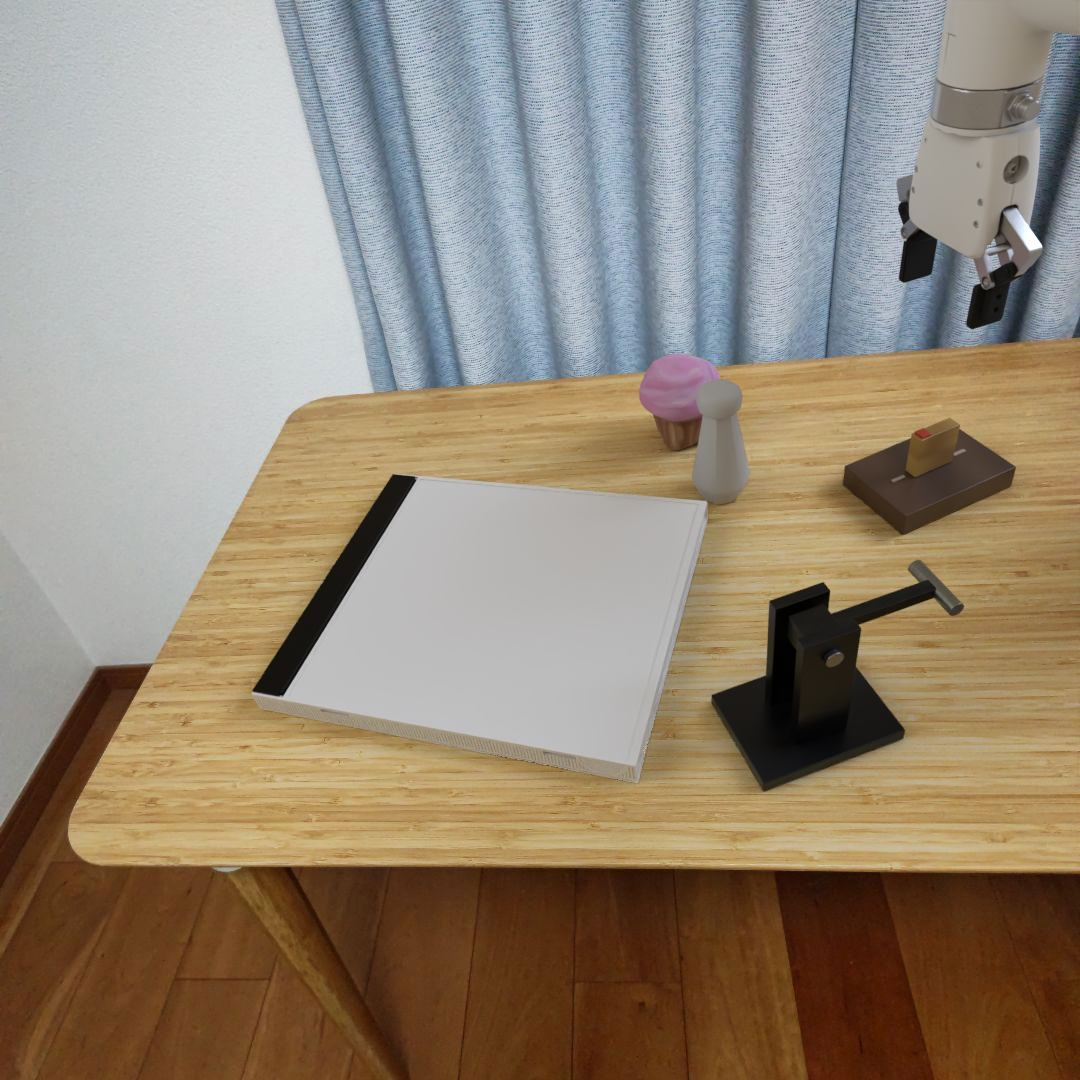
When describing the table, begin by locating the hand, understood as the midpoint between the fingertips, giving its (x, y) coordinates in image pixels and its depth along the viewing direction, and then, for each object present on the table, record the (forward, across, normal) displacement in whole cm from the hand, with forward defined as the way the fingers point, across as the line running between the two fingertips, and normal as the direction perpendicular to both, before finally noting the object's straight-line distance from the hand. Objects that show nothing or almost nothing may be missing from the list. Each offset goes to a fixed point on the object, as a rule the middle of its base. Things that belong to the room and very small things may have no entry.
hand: (947, 299), depth 81 cm
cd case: (+18, -1, +47) cm, 50 cm away
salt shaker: (+18, +4, +20) cm, 28 cm away
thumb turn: (+16, -4, +2) cm, 16 cm away
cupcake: (+18, +15, +20) cm, 31 cm away
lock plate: (+18, -4, +2) cm, 19 cm away
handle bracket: (+18, -24, +27) cm, 40 cm away
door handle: (+8, -24, +22) cm, 34 cm away
